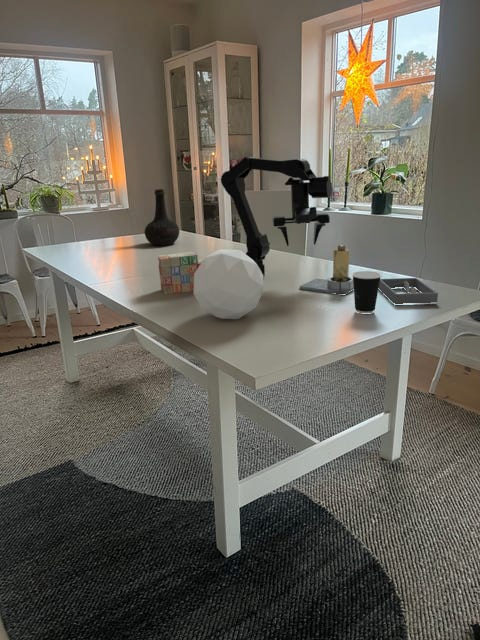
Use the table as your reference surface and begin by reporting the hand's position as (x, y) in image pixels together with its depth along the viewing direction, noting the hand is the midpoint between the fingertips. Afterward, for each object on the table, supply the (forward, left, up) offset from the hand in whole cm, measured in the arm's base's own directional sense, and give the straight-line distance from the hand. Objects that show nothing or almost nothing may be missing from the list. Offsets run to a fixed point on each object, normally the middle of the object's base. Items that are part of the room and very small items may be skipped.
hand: (301, 245), depth 166 cm
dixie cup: (+14, -36, -13) cm, 41 cm away
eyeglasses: (+28, -20, -14) cm, 37 cm away
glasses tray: (+30, -22, -13) cm, 39 cm away
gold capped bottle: (+12, -11, -12) cm, 20 cm away
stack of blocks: (-38, -4, -13) cm, 40 cm away
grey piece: (+8, -9, -13) cm, 18 cm away
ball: (-24, -36, -13) cm, 45 cm away
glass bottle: (-62, +87, -13) cm, 108 cm away
